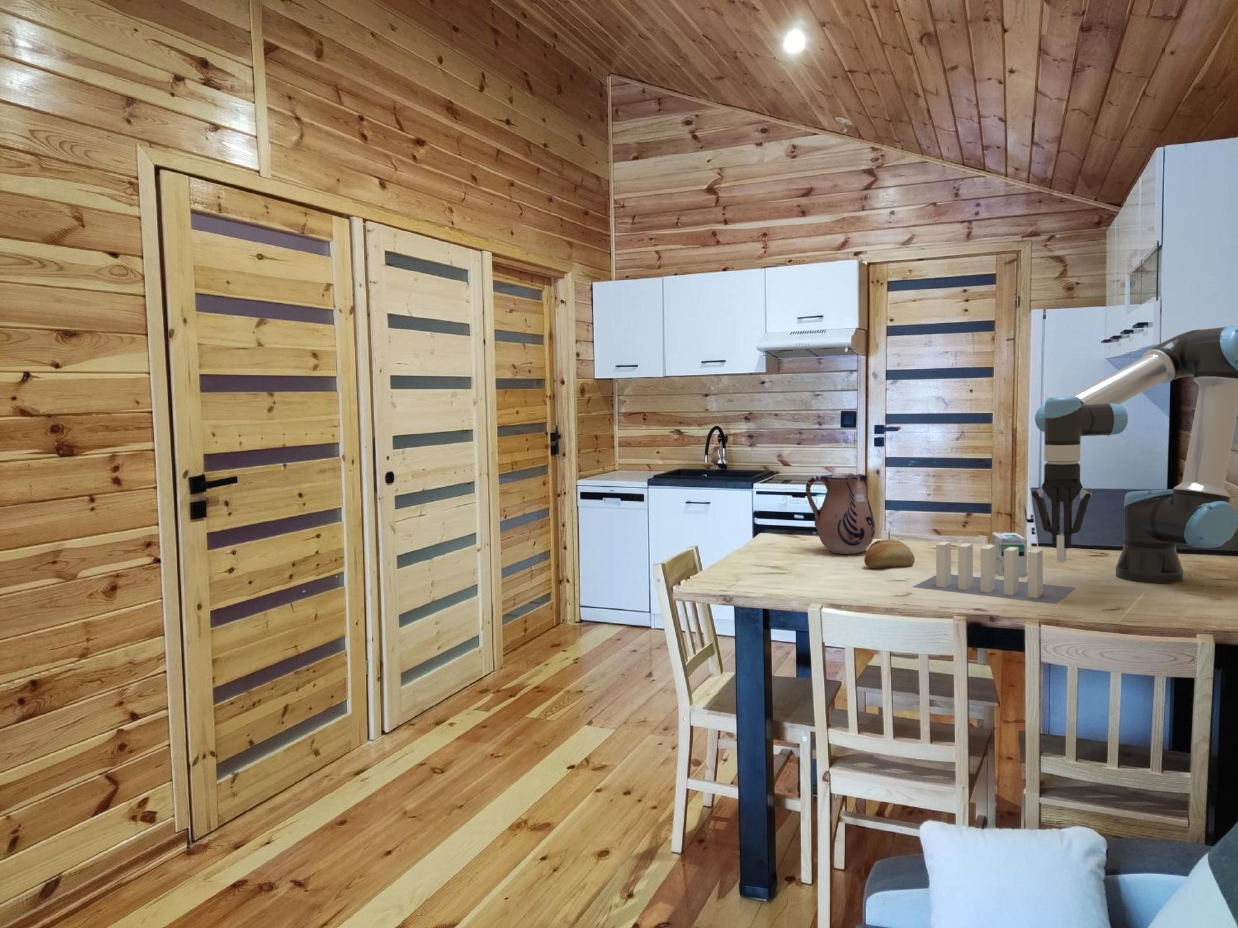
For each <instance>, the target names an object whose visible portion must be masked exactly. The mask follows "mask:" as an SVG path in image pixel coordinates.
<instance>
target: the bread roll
mask: <svg viewBox="0 0 1238 928" xmlns="http://www.w3.org/2000/svg"><path fill="white" fill-rule="evenodd" d="M863 562H864V565H865V566H866V567H868V568H872V569H873V568H874V569H875V568H877V569H879V568H881V569H883V568H899V567H901V568H902V567H912V566H914V563H915V556H914V553H913V552H912V551H911V548H910V547H909V546H908V545H906V544H905V543H904V542H901V541H900V540H895V539H882V540H877V541H874V542H873V543H871V544H870V545H869V546H868V547H867V549H866V550H865V554H864V559H863Z"/></svg>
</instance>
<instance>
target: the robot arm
mask: <svg viewBox="0 0 1238 928" xmlns="http://www.w3.org/2000/svg"><path fill="white" fill-rule="evenodd" d="M1186 377H1193V381H1194V382H1195V383H1196V384H1197V386H1198V393H1197V399H1196V406H1195V411H1194V416H1193V422H1192V425H1191V426H1192V427H1191V432H1190V438H1189V441H1188V442H1189V443H1188V448H1187V453H1186V459H1185V465H1184V470H1183V475H1182V481H1181V482H1180V483H1179V484H1178V485H1176V486H1174V487H1173V489H1154V490H1151V489H1150V490H1137V491H1136V490H1135V491H1129V492H1127V493H1126V494H1125V496H1124V502H1123V503H1124V504H1123V548H1122V550H1121V552H1120V556H1119V557H1118V560H1117V563H1116V566H1115V576H1116V577H1118V578H1121V579H1124V580H1129V581H1134V582H1140V583H1152V584H1169V583H1170V584H1171V583H1178V582H1182V581H1184V578H1185V577H1184V575H1185V573H1184V569H1183V566H1182V564H1181V561H1180V558H1179V554H1178V553H1177V545H1176V544H1180V545H1186V546H1190V547H1193V548H1204V549H1205V548H1206V549H1215V548H1219V547H1222V546H1223V545H1225V543H1227V542H1229V541H1230V540H1231V539H1232V538H1233V537H1234V535H1235V534H1236V531H1237V528H1238V513H1236V512H1237V510H1236V508H1235V506H1233V505H1232V504H1231V503H1230V499H1231V495H1230V493H1228V491H1226V489H1225V485H1226V479H1227V473H1228V467H1229V464H1230V463H1229V462H1230V458H1231V452H1232V446H1233V442H1234V436H1235V435H1234V434H1235V431H1236V424H1237V420H1238V419H1237V418H1238V325H1228V326H1224V327H1223V326H1222V327H1215V328H1214V327H1213V328H1204V329H1194V330H1193V329H1192V330H1188V331H1185V332H1182V333H1180V334H1177V335H1175V336H1173V337H1172V338H1170V339H1167V340H1165V341H1163V342H1161V343H1158V344H1157V345H1155V346H1153V347H1151V348H1150V349H1148V350H1147V351H1144V353H1143V354H1142V355H1141V358H1139V359H1138V360H1136V361H1134V362H1132V363H1130V364H1128V365H1127V366H1125V367H1123V368H1121V369H1119V370H1117V371H1115V372H1113V373H1112V374H1110V375H1108V376H1106V377H1104V378H1102V379H1100V380H1099V381H1097V382H1095V383H1093V384H1091V385H1090V386H1087V387H1085V388H1083V389H1082V390H1080V391H1078V392H1077V393H1075V394H1073V395H1070V396H1052V397H1048V398H1047V399H1046V400H1045V401H1044V404H1042V405H1041V406H1039V408H1038V409H1037V410H1036V412H1035V416H1034V421H1035V426H1036V427H1037V428H1038V430H1039V431H1041V432H1042V433H1044V434H1043V435H1044V450H1043V451H1044V452H1043V454H1044V455H1043V456H1044V457H1043V459H1044V462H1046V463H1045V464H1044V465H1043V466H1044V467H1043V480H1044V481H1043V483H1042V484H1041V487H1040V488H1038V489H1036V490H1034V491H1032V492H1031V496H1032V497H1033V498H1034V500H1035V501H1036V504H1037V505H1036V506H1037V509H1038V513H1039V517H1040V520H1041V526H1042V529H1043V531H1044V532H1048V533H1050V534H1051V546H1052V548H1056V563H1061V564H1064V563H1066V562H1067V549H1070V548H1071V547H1072V535H1074V534H1078V532H1080V531H1081V530H1082V525H1083V521H1084V518H1085V515H1086V511H1087V507H1088V504H1089V502H1090V500H1092V498H1093V496H1094V494H1093V492H1090V491H1088V490H1086V489H1084V488H1083V487H1084V486H1083V484H1082V483H1081V464H1080V463H1078V462H1080V461H1081V439H1082V438H1081V437H1088V436H1089V437H1090V436H1091V437H1098V436H1107V437H1109V436H1113V435H1119V434H1122V433H1123V432H1124V431H1125V429H1127V426H1128V423H1129V421H1128V420H1129V418H1128V417H1129V415H1128V412H1127V410H1126V408H1125V407H1124V406H1123V405H1121V404H1123V403H1124V402H1127V401H1128V400H1130V399H1131V398H1133V397H1135V396H1137V395H1139V394H1141V393H1143V392H1144V391H1145V392H1146V391H1147V390H1148V389H1151V388H1153V387H1154V386H1156V385H1158V384H1161V385H1163V384H1164V385H1165V384H1168V383H1170V382H1172V381H1174V380H1177V379H1180V378H1186ZM1045 494H1046V496H1047V497H1048V498H1049V499H1050V500H1051V502H1050V503H1051V505H1050V506H1051V520H1050V516H1049V512H1048V509H1047V503H1046V500H1045V498H1044V497H1045ZM1079 494H1080V495H1079ZM1078 496H1079V498H1080V501H1079V505H1078V508H1077V512H1076V515H1075V519H1074V523H1073V501H1074V500H1075V499H1076V498H1077V497H1078ZM1061 502H1062V505H1063V533H1060V532H1061V529H1060V528H1061V526H1060V525H1061V517H1060V516H1061Z"/></svg>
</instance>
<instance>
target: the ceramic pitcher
mask: <svg viewBox="0 0 1238 928" xmlns="http://www.w3.org/2000/svg"><path fill="white" fill-rule="evenodd" d="M867 477H868V475H867V474H863V473H861V474H860V473H858V474H854V473H852V472H850V473H849V472H848V473H846V472H843V473H835V474H834V473H832V474H831V473H830V474H826V475H824V474H823V475H814V476H812V477H810V478H809V479H808V480H807V482H806V484H805V494H806V498H807V500H808V503H809V506H810V508H811V510H812V512H813V515H814V527H815V529H816V530H817V533H818V538H819V539H820V542H821V544H822V545H823V546H824V547H825V548H826V550H828V551H829V552H831V553H834V554H838V553H839V554H838V555H855V554H860V553H863V552H864V551H866V550H868V548H869V547H870V546H871V544H872V542H873V540H874V537H875V532H876V531H875V530H876V526H875V525H876V524H875V520H874V515H873V511H872V507H871V505H870V500H869V497H868V492H867V480H868V479H867ZM816 482H822V483H823V484H824V486H825V488H826V493H825V496H824V499H823V502H822V504H821V507H820V508H819V509H818V507H817V505H816V504H815V502H814V499H813V496H812V494H811V493H812V492H811V488H812V485H813V484H814V483H816Z"/></svg>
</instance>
